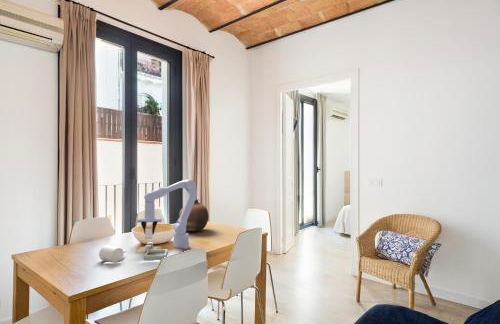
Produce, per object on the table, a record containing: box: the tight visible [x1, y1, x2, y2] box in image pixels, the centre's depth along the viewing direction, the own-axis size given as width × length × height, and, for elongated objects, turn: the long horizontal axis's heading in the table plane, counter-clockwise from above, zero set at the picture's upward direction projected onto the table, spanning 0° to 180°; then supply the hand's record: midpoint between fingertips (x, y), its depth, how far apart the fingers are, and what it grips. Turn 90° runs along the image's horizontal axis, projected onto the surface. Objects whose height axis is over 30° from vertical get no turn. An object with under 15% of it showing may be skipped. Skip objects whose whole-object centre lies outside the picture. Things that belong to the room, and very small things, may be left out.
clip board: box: [135, 241, 163, 253], centre depth 182 cm, size 14×10×4 cm
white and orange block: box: [144, 225, 154, 240], centre depth 182 cm, size 4×4×7 cm
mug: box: [98, 244, 126, 264], centre depth 164 cm, size 12×10×8 cm
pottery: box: [178, 198, 210, 232], centre depth 234 cm, size 23×23×25 cm
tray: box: [143, 248, 169, 260], centre depth 171 cm, size 12×12×2 cm
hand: (149, 233), depth 182 cm, fingers closed on white and orange block, 4 cm apart
